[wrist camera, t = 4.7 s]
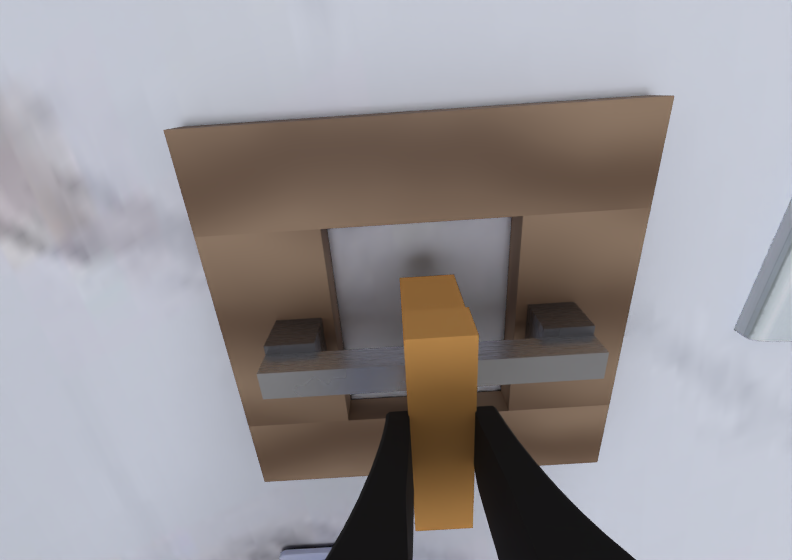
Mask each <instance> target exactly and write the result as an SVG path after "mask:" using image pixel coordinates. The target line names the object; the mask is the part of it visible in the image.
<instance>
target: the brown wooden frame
mask: <svg viewBox="0 0 792 560" xmlns="http://www.w3.org/2000/svg"><path fill="white" fill-rule="evenodd" d="M673 100H674V96H663V95H646V96H631V97H616V98H601V99H586V100H571V101H557V102H542V103H527V104H512V105H497V106H482V107H467V108H453V109H438V110H423V111H408V112H393V113H378V114H363V115H349V116H334V117H319V118H304V119H289V120H274V121H259V122H245V123H230V124H215V125H200V126H185V127H178V128H172V129H167V130H164V134H165V137H166V141H167V144H168V147H169V151H170V154H171V158H172V161H173V165H174V168H175V172H176V175H177V179H178V182H179V186H180V189H181V193H182V196H183V200H184V203H185V207H186V210H187V213H188V217H189V220H190V224H191V227H192V231H193V234H194V238H195V241H196V245H197V248H198V252H199V255H200V259H201V262H202V266H203V269H204V273H205V276H206V279H207V283H208V286H209V290H210V293H211V297H212V300H213V304H214V307H215V311H216V314H217V318H218V321H219V325H220V328H221V332H222V335H223V338H224V342H225V345H226V349H227V352H228V356H229V359H230V363H231V366H232V370H233V373H234V377H235V380H236V384H237V387H238V391H239V394H240V398H241V401H242V404H243V408H244V411H245V415H246V418H247V422H248V425H249V429H250V432H251V436H252V439H253V443H254V446H255V450H256V453H257V457H258V460H259V463H260V467H261V470H262V474H263V477H264V481H265V482H270V481H287V480H304V479H321V478H338V477H355V476H368V475H369V472H370V470H371V467H372V464H373V462H374V459H375V456H376V453H377V451H378V447H379V444H380V441H381V438H382V434H383V430H384V425H385V419H386V414H388V413H389V412H395V411H408V404H407V396H405V397H389V398H372V399H356V400H351V397H350V394H344V395H328V396H311V397H295V398H278V399H263V397H262V393H261V390H260V386H259V382H258V378H257V372H258V370H259V368H260V366H261V363H262V361H263V359H264V357H265V351H264V347H263V346H264V344H265V342H266V340H267V338H268V336H269V334H270V332H271V330H272V328H273V326H274V324H275V322H276V320H290V319H305V318H321V317H322V322H323V329H324V335H325V341H326V347H327V351H337V350H344V347H343V340H342V333H341V326H340V318H339V311H338V304H337V297H336V290H335V283H334V276H333V268H332V261H331V254H330V247H329V240H328V233H327V229H330V228H345V227H361V226H376V225H392V224H407V223H422V222H438V221H453V220H469V219H484V218H500V217H512V220H511V236H510V253H509V269H508V285H507V301H506V317H505V333H504V340H515V339H525V332H526V321H527V309H528V304H544V303H560V302H575V303H576V304H577V306H578V307H579V308H580V309H581V310H582V311H583V312H584V314H585V315H586V316H587V317H588V318H589V319H590V320H591V321H592V323H593V324H594V325H595V331H594V335H595V336H596V338H597V339H598V340H599V341H600V342H601V344H602V345H603V346H604V347H605V348H606V349H607V351H608V352H609V355H608V361H607V366H606V371H605V376H604V379H590V380H573V381H557V382H541V383H524V384H508V385H501V391H487V392H477V407H478V406H494V407H495V408H496V409H497V410H498V412H499V413H500V415H501V416H502V418H503V419H504V421H505V422H506V424H507V425H508V427H509V428H510V429H511V431H512V432H513V434H514V435H515V436H516V438H517V439H518V440H519V442H520V443H521V444H522V446H523V447H524V448H525V449H526V451H527V452H528V453H529V454H530V456H531V457H532V458H533V459H534V460H535V462H536V463H537V464H538V465H539V466H541V465H558V464H574V463H591V462H597V461H598V456H599V451H600V446H601V442H602V437H603V432H604V427H605V423H606V418H607V413H608V408H609V404H610V399H611V394H612V389H613V385H614V380H615V375H616V370H617V366H618V361H619V356H620V351H621V347H622V342H623V337H624V332H625V328H626V323H627V318H628V313H629V309H630V304H631V299H632V295H633V290H634V285H635V280H636V276H637V271H638V266H639V261H640V257H641V252H642V247H643V242H644V238H645V233H646V228H647V223H648V219H649V214H650V209H651V204H652V200H653V195H654V190H655V185H656V181H657V176H658V171H659V166H660V162H661V157H662V152H663V147H664V143H665V138H666V133H667V128H668V124H669V119H670V114H671V109H672V105H673Z"/></svg>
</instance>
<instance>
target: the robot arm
mask: <svg viewBox="0 0 792 560" xmlns="http://www.w3.org/2000/svg"><path fill="white" fill-rule="evenodd" d="M474 469H475V474H476V479H477V485H478V489H479V493H480V497H481V500H482V504H483V507H484V510H485V514H486V517H487V521H488V524H489V528H490V531H491V535H492V538H493V541H494V545H495V548H496V552H497V555H498V559H499V560H636V559H634V558H633V557H632V556H631V555H630V554H629V553H627V552H626V551H625V550H624V549H623V548H621V547H620V546H619V545H618V544H617V543H615V542H614V541H613V540H612V539H611V538H609V537H608V536H607V535H606V534H605V533H604V532H603V531H602V530H600V529H599V528H598V527H597V526H596V525H595V524H594V523H593V522H592V521H591V520H590V519H589V518H588V517H586V516H585V515H584V514H583V513H582V512H581V511H580V510H579V509H578V508H577V507H576V506H575V505H574V504H573V503H572V502H571V501H570V500H569V499H568V498H567V497H566V496H565V494H564V493H563V492H562V491H561V490H560V489H559V488H558V487H557V486H556V485H555V484H554V483H553V481H552V480H551V479H550V478H549V477H548V476H547V475H546V474H545V472H544V471H543V470H542V469H541V468H540V467H539V465H538V464H537V463H536V462H535V460H534V459H533V458H532V457H531V456H530V454H529V453H528V452H527V451H526V449H525V448H524V447H523V446H522V444H521V443H520V442H519V440H518V439H517V438H516V436H515V435H514V434H513V432H512V431H511V429H510V428H509V427H508V425H507V424H506V422H505V421H504V419H503V418H502V416H501V415H500V413H499V412H498V410H497V409H496V408H495V407H494V406H478V407H477V410H476V412H475V439H474ZM413 519H414V482H413V466H412V450H411V434H410V418H409V416H408V411H395V412H389V413H388V414H386V419H385V425H384V430H383V434H382V438H381V441H380V444H379V447H378V451H377V453H376V456H375V459H374V462H373V464H372V467H371V470H370V472H369V475H368V477H367V480H366V482H365V484H364V487H363V489H362V491H361V494H360V496H359V498H358V500H357V502H356V504H355V506H354V508H353V510H352V512H351V514H350V516H349V518H348V520H347V522H346V524H345V526H344V528H343V530H342V531H341V533H340V535H339V537H338V538H337V540H336V542H335V544H334V545H333V547H325V548H307V549H290V550H284V551H282V552H281V554H280V558H279V560H413Z"/></svg>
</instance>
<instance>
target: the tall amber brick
mask: <svg viewBox="0 0 792 560" xmlns="http://www.w3.org/2000/svg"><path fill="white" fill-rule="evenodd" d="M400 291H401V308H402V324H403V340H404V356H405V372H406V388H407V404H408V416H409V418H410V434H411V450H412V466H413V482H414V514H415V530H416V531H426V530H444V529H461V528H473V503H474V472H475V469H474V439H475V412H476V410H477V379H478V348H479V334H478V331H477V329H476V326H475V323H474V320H473V318H472V315H471V312H470V310H469V307H467V308H465V305H464V302H463V299H462V296H461V293H460V291H459V288H458V285H457V282H456V279H455V276H454V275H438V276H422V277H406V278H400Z"/></svg>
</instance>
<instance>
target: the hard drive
mask: <svg viewBox="0 0 792 560" xmlns="http://www.w3.org/2000/svg"><path fill="white" fill-rule="evenodd" d="M734 330H735V331H737V332H738V333H739V334H741V335H742V336H744V337H746V338H748V339H750V340H755V341H766V342H769V341H776V342H781V341H789V342H792V199H791V201H790V203H789V206H788V208H787V210H786V213H785V215H784V217H783V219H782V222H781V224H780V226H779V228H778V231H777V233H776V235H775V238H774V240H773V242H772V244H771V247H770V249H769V251H768V253H767V256H766V258H765V260H764V262H763V265H762V267H761V269H760V272H759V274H758V276H757V278H756V281H755V283H754V285H753V287H752V290H751V292H750V294H749V296H748V299H747V301H746V303H745V306H744V308H743V310H742V312H741V315H740V317H739V319H738V321H737V324H736V326H735V328H734Z"/></svg>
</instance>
